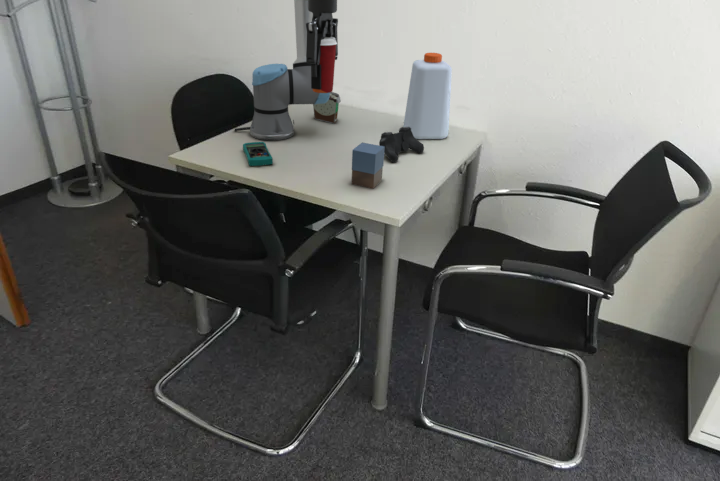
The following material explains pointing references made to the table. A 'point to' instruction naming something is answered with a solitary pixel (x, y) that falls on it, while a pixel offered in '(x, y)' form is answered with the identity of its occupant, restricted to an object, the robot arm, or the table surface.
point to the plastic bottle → (429, 98)
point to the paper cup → (327, 64)
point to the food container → (328, 109)
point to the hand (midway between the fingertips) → (322, 86)
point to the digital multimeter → (257, 154)
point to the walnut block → (366, 178)
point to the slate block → (368, 158)
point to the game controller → (399, 143)
